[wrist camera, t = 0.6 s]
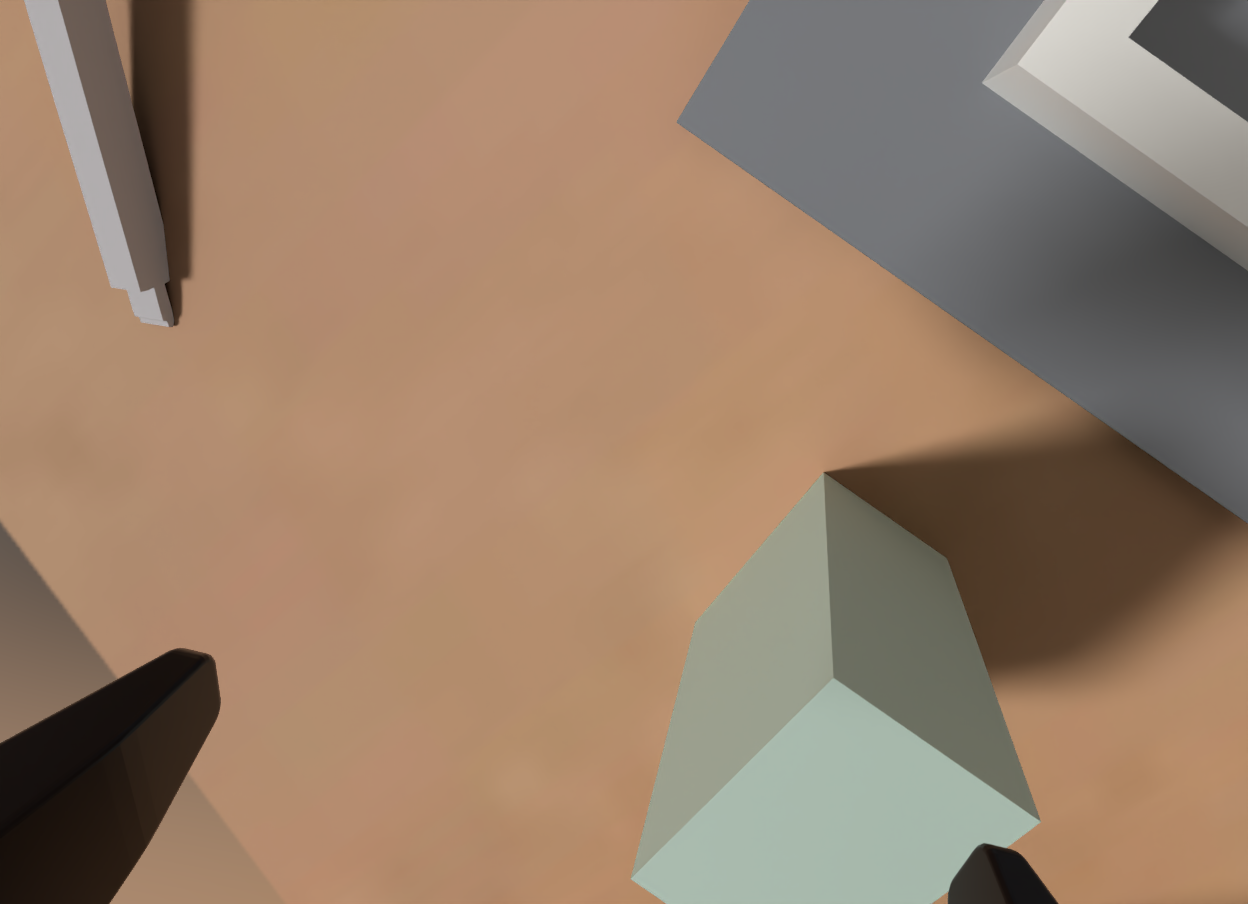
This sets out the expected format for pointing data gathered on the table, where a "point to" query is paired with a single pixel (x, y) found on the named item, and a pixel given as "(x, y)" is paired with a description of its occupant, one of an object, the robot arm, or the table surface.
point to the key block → (832, 727)
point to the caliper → (105, 148)
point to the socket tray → (1029, 185)
